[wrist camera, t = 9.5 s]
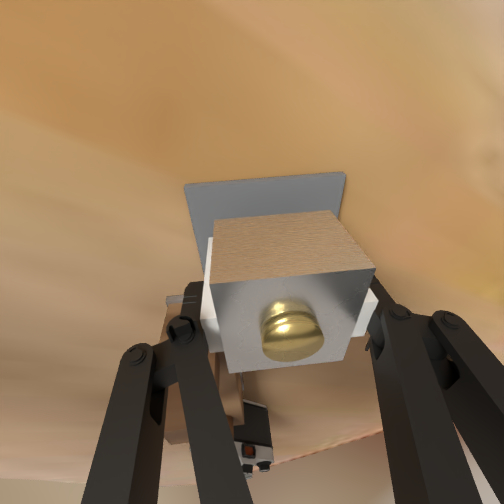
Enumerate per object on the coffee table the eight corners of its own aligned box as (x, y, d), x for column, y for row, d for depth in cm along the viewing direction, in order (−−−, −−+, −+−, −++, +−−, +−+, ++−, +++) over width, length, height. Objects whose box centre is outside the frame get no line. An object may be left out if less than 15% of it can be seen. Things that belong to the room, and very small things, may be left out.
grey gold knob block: (228, 304, 17) (229, 388, 12) (214, 219, 13) (207, 300, 8) (315, 295, 17) (348, 374, 13) (330, 209, 13) (387, 282, 8)
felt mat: (208, 286, 20) (208, 291, 19) (185, 184, 14) (183, 187, 14) (323, 275, 20) (325, 279, 20) (342, 171, 15) (346, 174, 14)
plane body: (243, 385, 32) (249, 482, 24) (203, 390, 31) (197, 490, 24) (229, 290, 20) (231, 416, 13) (166, 296, 20) (131, 428, 13)
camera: (174, 407, 34) (165, 495, 27) (203, 386, 31) (202, 480, 24) (242, 414, 41) (249, 486, 34) (272, 397, 37) (287, 473, 30)
